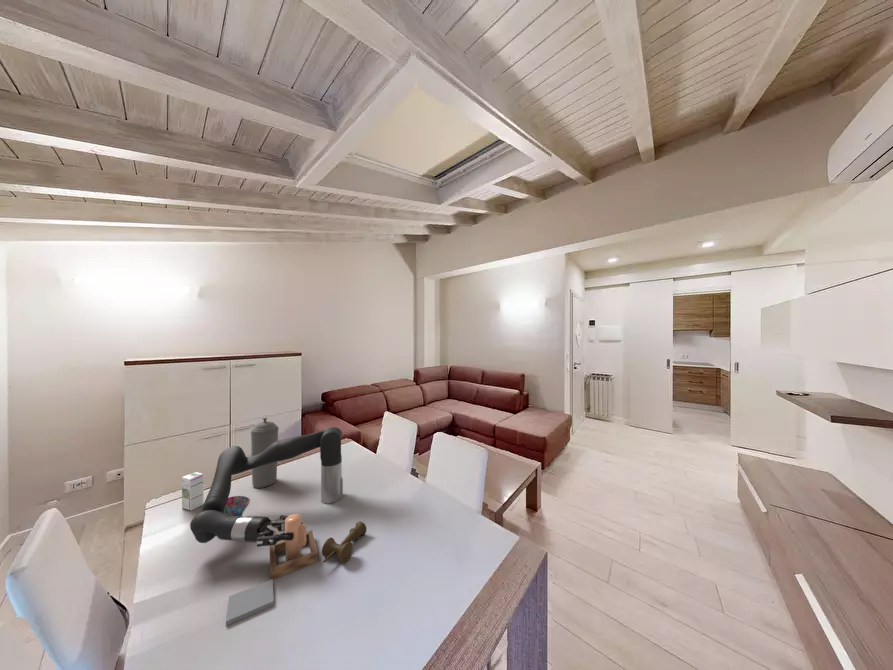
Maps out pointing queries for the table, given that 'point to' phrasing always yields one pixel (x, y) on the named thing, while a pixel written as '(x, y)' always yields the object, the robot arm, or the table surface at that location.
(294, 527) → the peach cylinder post
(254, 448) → the canister
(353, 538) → the kendama
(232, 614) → the slate mat
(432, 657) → the table surface
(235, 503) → the mug
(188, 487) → the syrup box
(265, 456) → the robot arm
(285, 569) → the walnut collar
